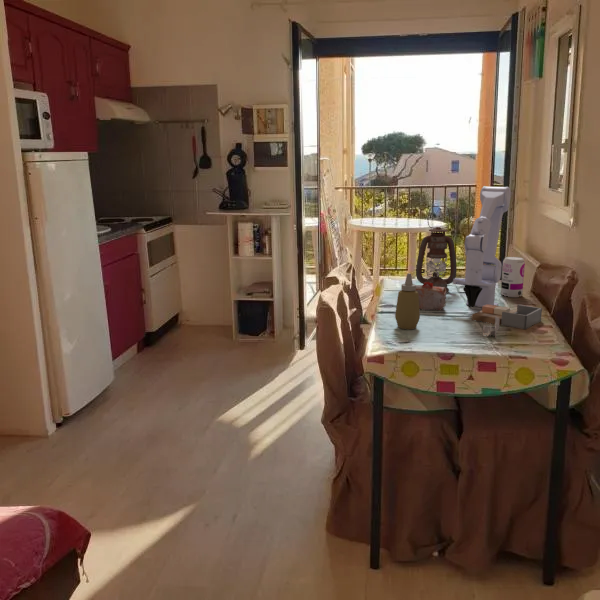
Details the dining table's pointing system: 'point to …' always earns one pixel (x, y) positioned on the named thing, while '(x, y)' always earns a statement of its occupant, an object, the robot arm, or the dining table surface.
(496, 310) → the tile cream
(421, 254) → the lantern
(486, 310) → the tile terracotta
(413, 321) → the squeeze bottle
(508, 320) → the box
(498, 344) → the dining table surface
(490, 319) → the walnut plate
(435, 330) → the dining table surface
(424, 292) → the food item
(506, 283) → the supplement can
